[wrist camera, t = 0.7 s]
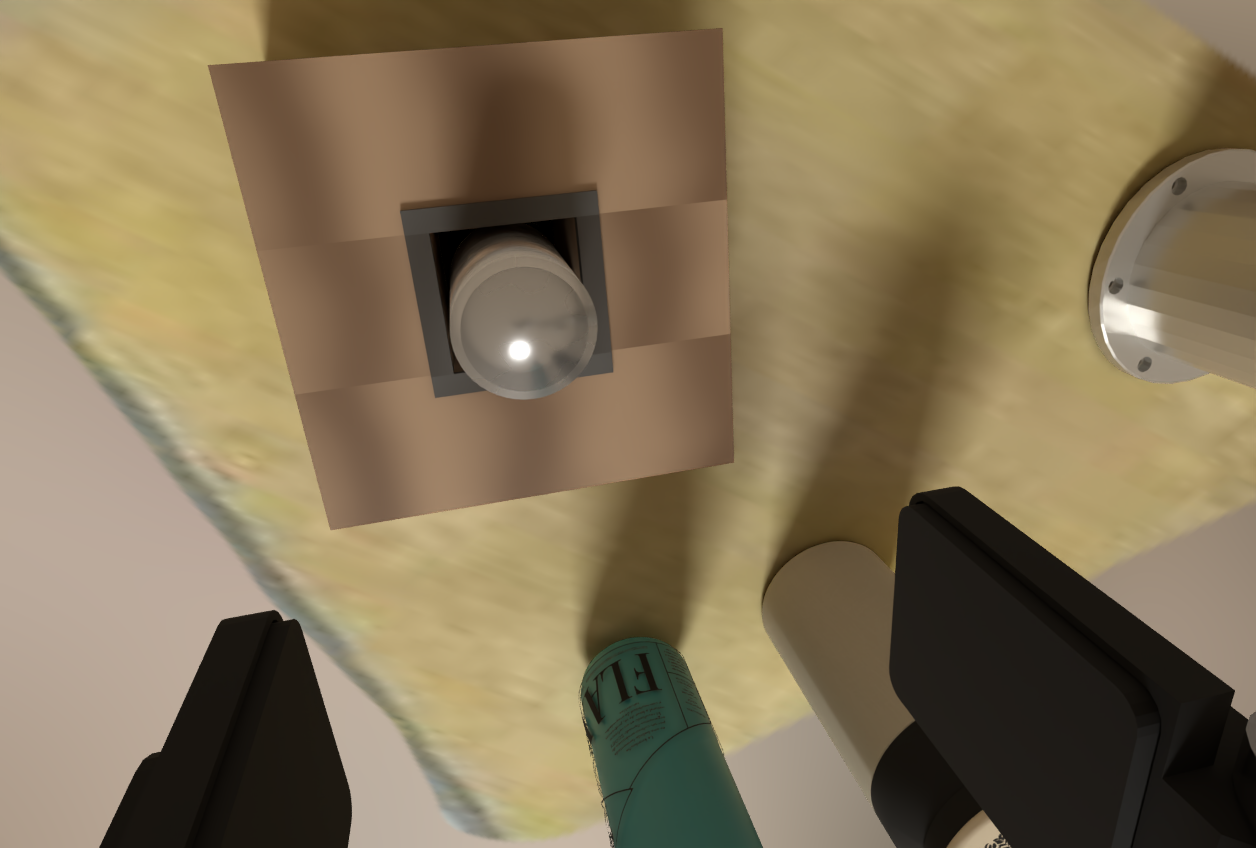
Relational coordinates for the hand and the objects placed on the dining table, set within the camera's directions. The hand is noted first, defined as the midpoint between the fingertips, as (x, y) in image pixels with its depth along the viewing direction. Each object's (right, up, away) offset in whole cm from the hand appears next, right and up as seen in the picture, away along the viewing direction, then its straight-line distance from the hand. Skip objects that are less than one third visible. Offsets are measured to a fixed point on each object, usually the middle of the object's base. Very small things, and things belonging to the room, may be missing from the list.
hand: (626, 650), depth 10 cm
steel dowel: (-5, +9, +21) cm, 23 cm away
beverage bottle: (0, -11, +35) cm, 37 cm away
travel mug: (+12, -7, +37) cm, 39 cm away
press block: (-6, +10, +25) cm, 28 cm away
